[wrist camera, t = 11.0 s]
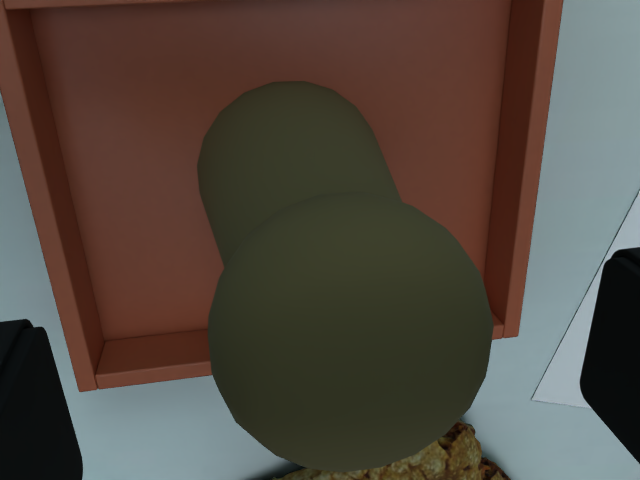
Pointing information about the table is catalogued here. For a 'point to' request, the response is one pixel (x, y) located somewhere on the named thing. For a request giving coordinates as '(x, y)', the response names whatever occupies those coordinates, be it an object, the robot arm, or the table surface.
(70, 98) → the terracotta tray
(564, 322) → the table surface
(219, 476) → the table surface
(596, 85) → the table surface
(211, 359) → the pepper shaker
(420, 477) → the pastry
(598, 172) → the table surface
